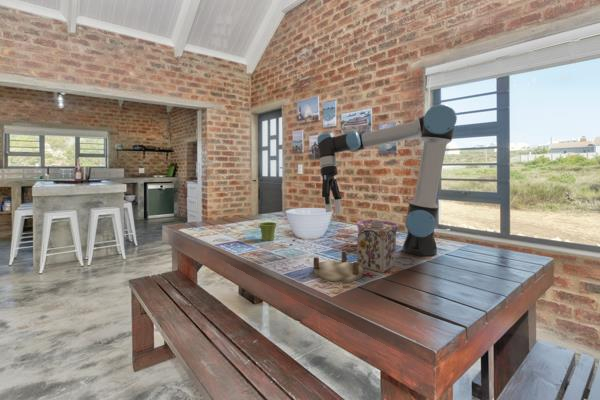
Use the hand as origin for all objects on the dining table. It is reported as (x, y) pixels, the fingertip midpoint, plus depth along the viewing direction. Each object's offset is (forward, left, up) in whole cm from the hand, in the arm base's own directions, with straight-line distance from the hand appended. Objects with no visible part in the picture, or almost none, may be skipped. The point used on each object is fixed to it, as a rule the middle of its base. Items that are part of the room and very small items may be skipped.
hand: (334, 212), depth 145 cm
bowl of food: (-24, -9, -19) cm, 32 cm away
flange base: (+5, +27, -19) cm, 33 cm away
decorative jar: (-12, +21, -19) cm, 31 cm away
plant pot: (+29, -28, -19) cm, 44 cm away
